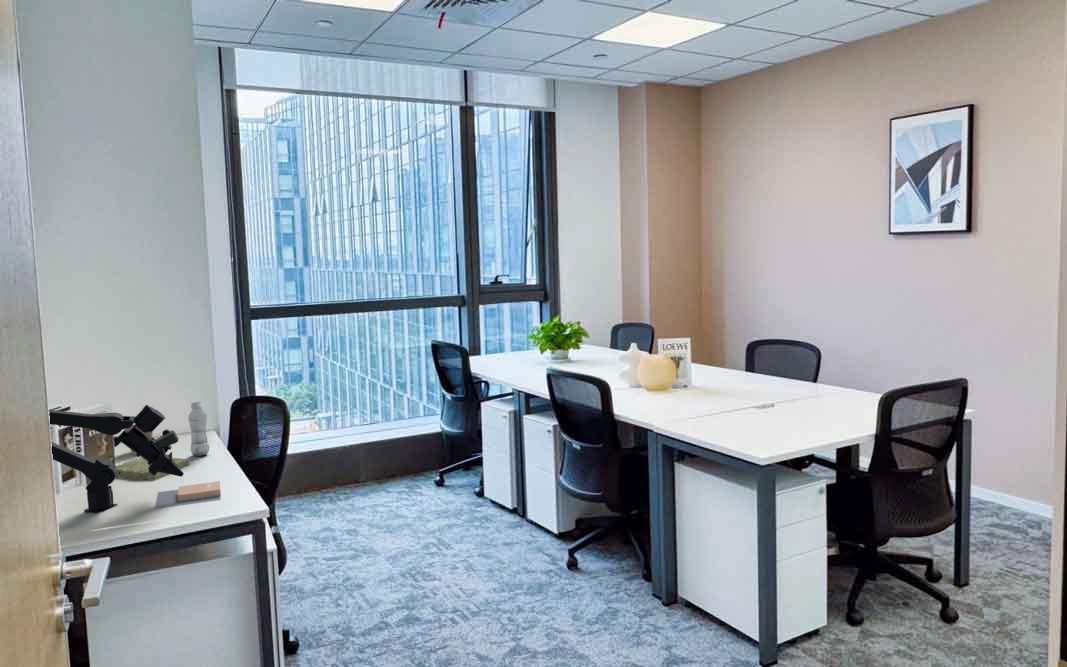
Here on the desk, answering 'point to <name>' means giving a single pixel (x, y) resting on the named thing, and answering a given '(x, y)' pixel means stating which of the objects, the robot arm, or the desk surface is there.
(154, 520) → the desk surface
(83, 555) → the desk surface
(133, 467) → the decorative tile
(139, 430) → the robot arm
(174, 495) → the mat
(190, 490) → the tile
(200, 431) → the plastic bottle
